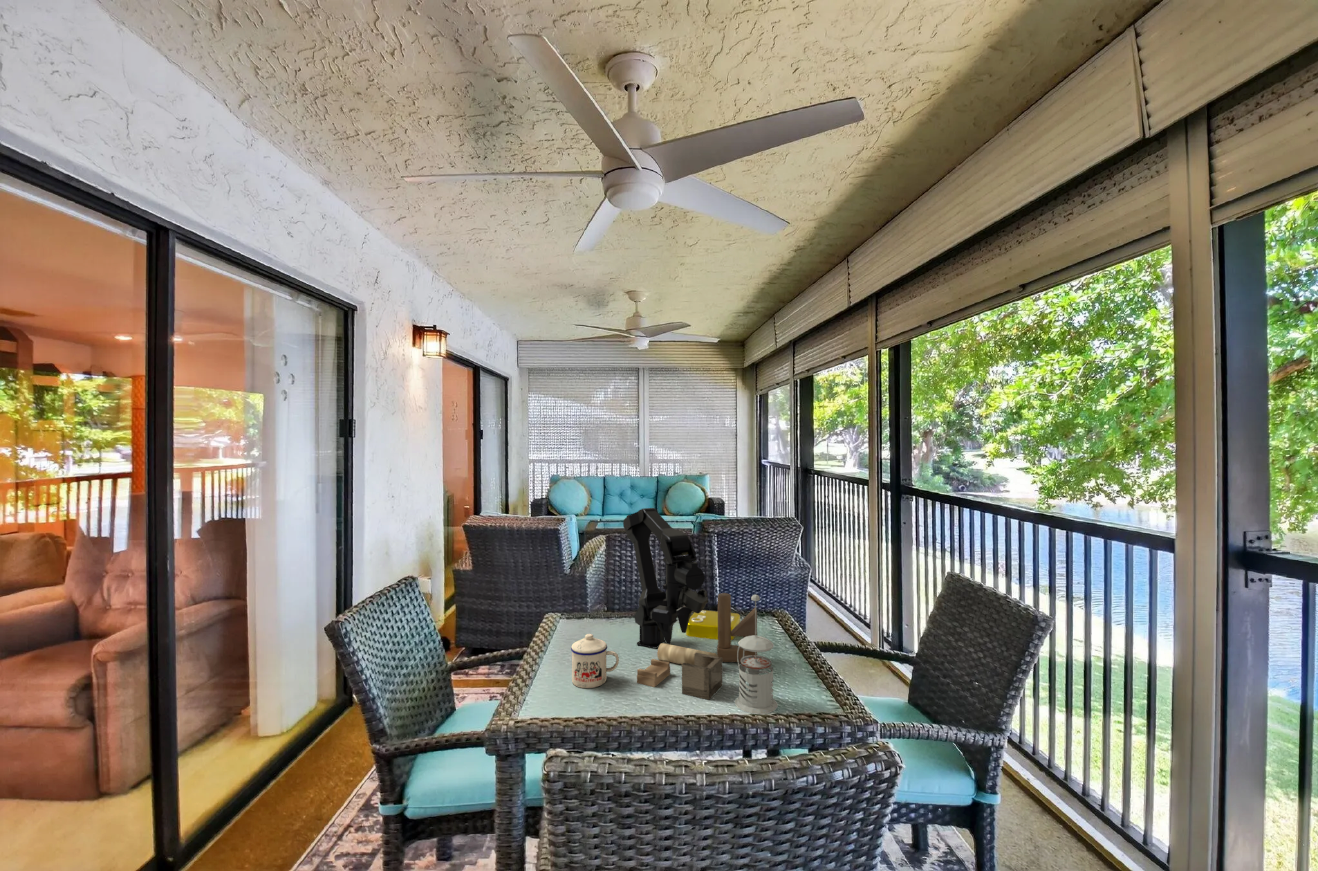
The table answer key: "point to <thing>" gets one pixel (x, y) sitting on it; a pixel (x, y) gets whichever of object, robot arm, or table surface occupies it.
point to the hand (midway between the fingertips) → (676, 637)
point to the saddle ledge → (653, 673)
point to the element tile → (708, 624)
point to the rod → (678, 654)
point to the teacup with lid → (590, 662)
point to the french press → (755, 675)
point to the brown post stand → (725, 633)
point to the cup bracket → (702, 676)
